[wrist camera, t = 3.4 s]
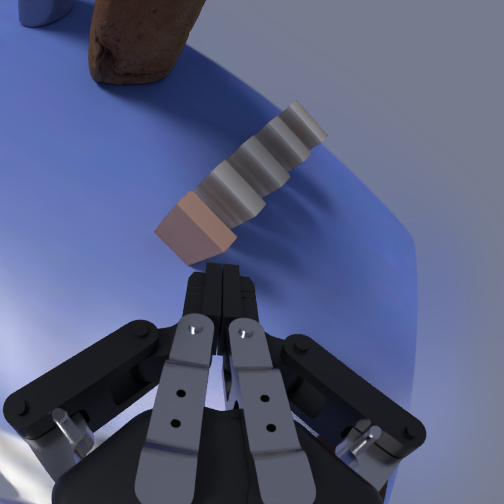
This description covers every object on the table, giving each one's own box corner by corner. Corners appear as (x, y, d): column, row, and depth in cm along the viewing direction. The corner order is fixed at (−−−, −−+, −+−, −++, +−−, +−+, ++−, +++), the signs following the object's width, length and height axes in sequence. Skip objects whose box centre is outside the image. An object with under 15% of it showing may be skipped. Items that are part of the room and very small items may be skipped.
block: (163, 48, 33) (222, -67, 15) (171, 86, 32) (241, -39, 15) (86, 53, 27) (113, -76, 10) (87, 94, 27) (108, -51, 10)
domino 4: (271, 174, 37) (321, 142, 29) (245, 146, 36) (289, 106, 28) (278, 167, 38) (327, 135, 29) (252, 140, 37) (296, 100, 28)
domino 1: (187, 265, 31) (224, 252, 22) (153, 231, 30) (176, 203, 21) (197, 254, 31) (237, 237, 23) (164, 221, 30) (191, 189, 21)
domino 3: (253, 193, 36) (303, 161, 27) (225, 163, 35) (268, 122, 26) (261, 185, 36) (311, 153, 28) (233, 156, 35) (277, 115, 27)
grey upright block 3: (233, 214, 34) (281, 186, 25) (203, 183, 33) (242, 144, 24) (241, 206, 35) (291, 176, 26) (212, 175, 34) (253, 135, 25)
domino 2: (211, 239, 32) (255, 216, 24) (179, 206, 31) (212, 170, 22) (220, 229, 33) (266, 203, 24) (189, 196, 32) (224, 159, 23)
